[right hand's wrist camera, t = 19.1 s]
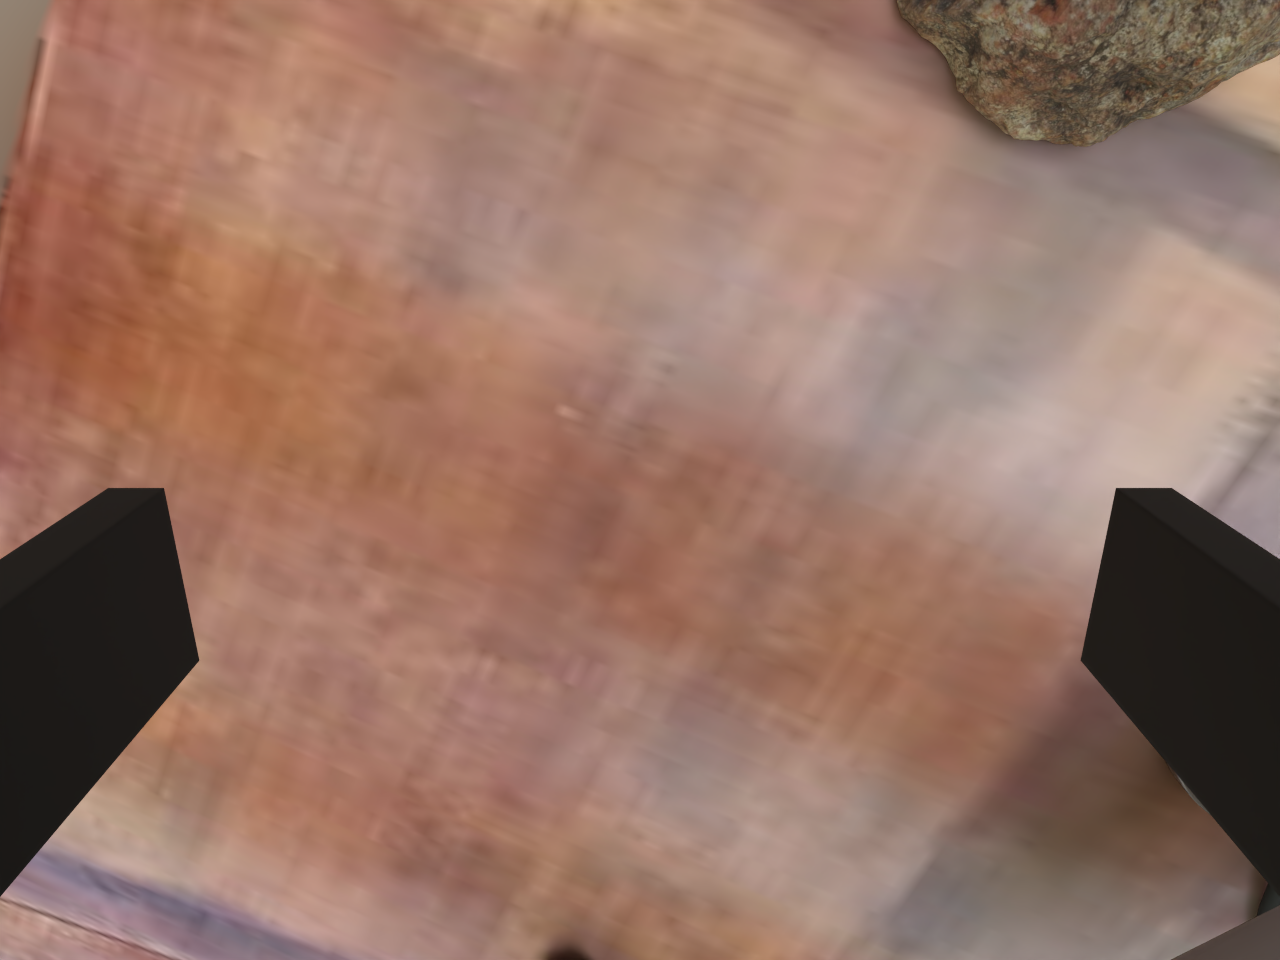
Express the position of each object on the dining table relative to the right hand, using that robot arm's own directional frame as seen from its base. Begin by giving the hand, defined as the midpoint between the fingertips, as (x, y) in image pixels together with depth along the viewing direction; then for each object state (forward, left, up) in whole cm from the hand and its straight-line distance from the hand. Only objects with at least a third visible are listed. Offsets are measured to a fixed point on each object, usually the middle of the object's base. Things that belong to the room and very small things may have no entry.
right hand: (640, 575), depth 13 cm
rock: (+15, -14, -30) cm, 37 cm away
